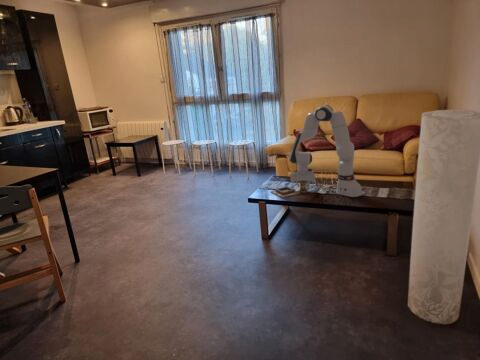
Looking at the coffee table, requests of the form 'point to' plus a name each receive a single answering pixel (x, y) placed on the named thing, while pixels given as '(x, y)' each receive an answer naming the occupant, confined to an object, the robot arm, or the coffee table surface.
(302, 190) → the bobbin
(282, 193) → the pocket board
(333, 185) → the coffee table surface
